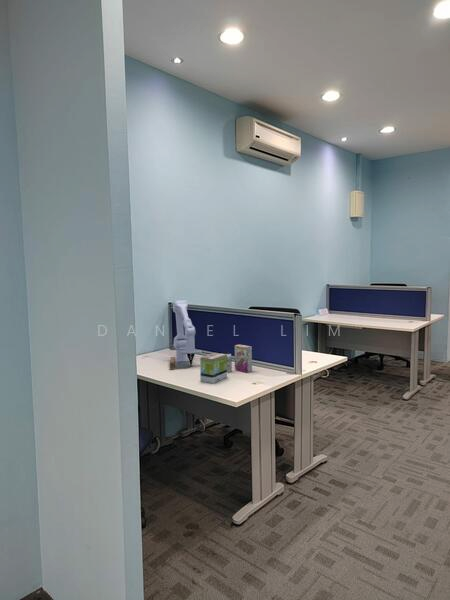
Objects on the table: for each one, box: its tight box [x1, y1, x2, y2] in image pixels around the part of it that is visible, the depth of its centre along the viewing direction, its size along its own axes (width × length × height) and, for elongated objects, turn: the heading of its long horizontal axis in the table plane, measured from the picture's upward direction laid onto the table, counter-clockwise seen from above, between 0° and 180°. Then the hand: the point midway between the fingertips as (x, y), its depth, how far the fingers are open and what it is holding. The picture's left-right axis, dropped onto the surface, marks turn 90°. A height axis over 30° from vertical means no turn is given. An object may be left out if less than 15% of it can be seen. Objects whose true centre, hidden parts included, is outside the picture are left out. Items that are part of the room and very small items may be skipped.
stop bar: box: [169, 356, 176, 371], centre depth 267 cm, size 16×3×5 cm, turn 5°
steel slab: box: [174, 360, 191, 370], centre depth 266 cm, size 10×10×3 cm
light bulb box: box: [226, 353, 233, 373], centre depth 253 cm, size 11×7×11 cm, turn 84°
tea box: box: [199, 352, 228, 384], centre depth 235 cm, size 15×10×15 cm
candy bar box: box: [234, 344, 253, 374], centre depth 253 cm, size 11×5×16 cm, turn 47°
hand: (191, 364), depth 268 cm, fingers closed
